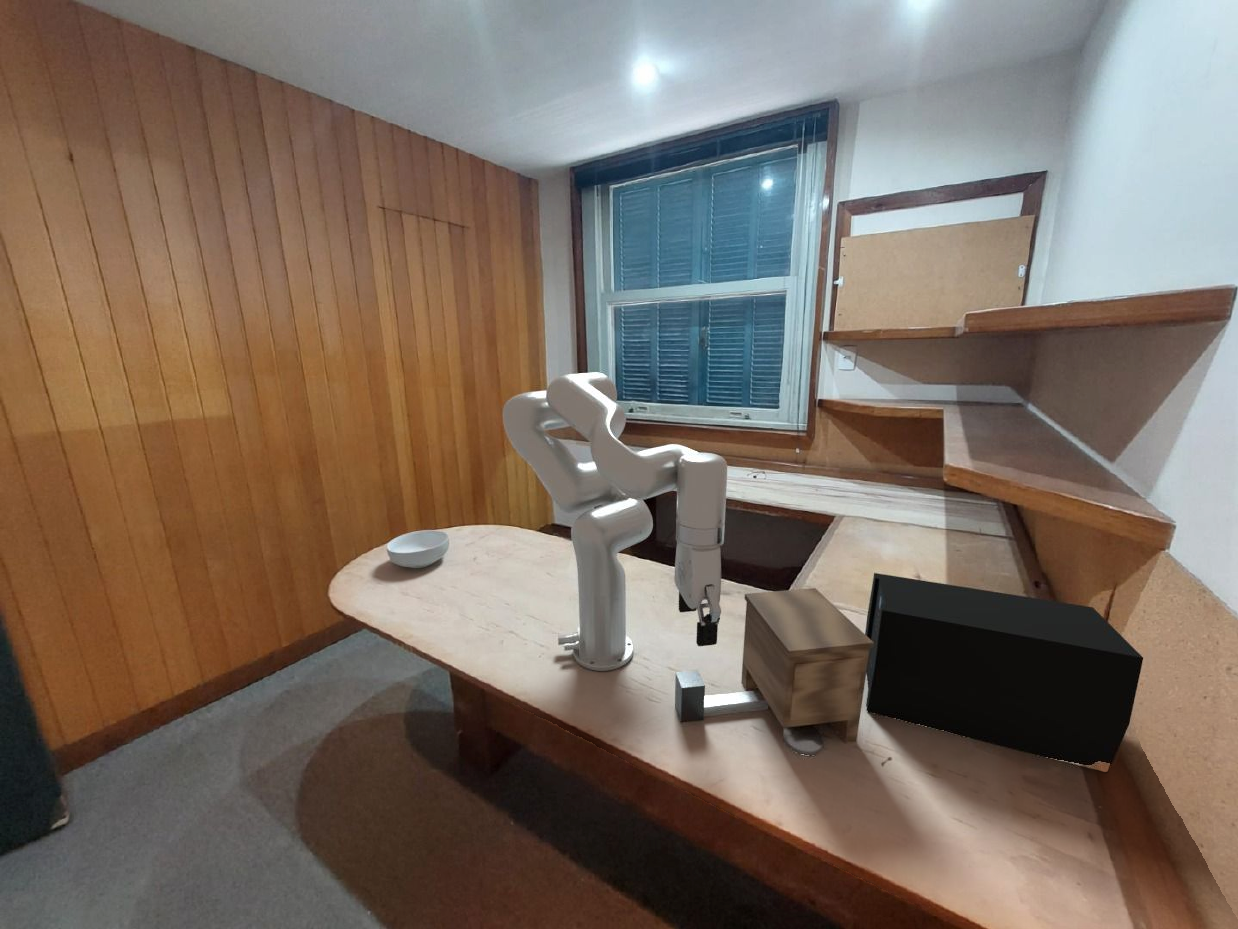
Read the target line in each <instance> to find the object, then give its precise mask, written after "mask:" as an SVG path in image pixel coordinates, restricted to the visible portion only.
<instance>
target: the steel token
mask: <svg viewBox="0 0 1238 929" xmlns="http://www.w3.org/2000/svg"><path fill="white" fill-rule="evenodd" d="M782 739H784V740H783V742H784V744H785V743H786V744H785V746H786V747H787V746H788V747H789V748H791V749H792V750H793V751H795V752H797V753H798V754H797V753H796V754H797V755H800V754H804V755H809V756H808V757H813V756H812V755H815V756H817V755H819V754H820V753H822V750H823V744H824V736H823V735H822V733H821V731H820V730H819V729H818V727H816V726H815V725H814V724H811V725H803V726H795V727H787V728H783V731H782ZM788 747H787V748H788ZM789 748H788V749H789ZM791 749H790V750H791ZM792 750H791V751H792ZM793 751H792V752H793ZM795 752H794V753H795Z"/></svg>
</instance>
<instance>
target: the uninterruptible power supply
mask: <svg viewBox="0 0 1238 929" xmlns="http://www.w3.org/2000/svg"><path fill="white" fill-rule="evenodd" d="M864 631H865V632H864V634H865V635H866V636H867V637H868V638H869V639H870V640H872V641H873V642H874V645H873V648H872V649H870V650H869V657H868V664H867V671H866V681H868V682H867V696H866V703H865V707H867V708H866V712H867V711H868V712H867V713H870V712H871V713H870V714H873V713H875V714H874V715H877V714H878V716H881V715H882V717H885V716H887V718H889V717H890V718H889V719H893V718H896V719H895V720H897V719H900V720H899V721H901V720H903V721H902V722H905V721H907V722H906V723H909V722H911V723H910V724H912V723H914V724H913V725H916V724H920V725H924V726H927V727H926V728H928V727H931V728H930V729H932V728H934V729H933V730H936V729H938V730H937V731H940V730H944V731H947V732H950V733H949V734H951V733H953V734H952V735H955V734H957V735H956V736H959V735H960V737H963V736H965V737H964V738H967V737H969V738H968V739H971V740H975V741H979V742H983V743H986V744H992V745H994V746H998V747H1003V748H1006V749H1009V750H1010V749H1011V750H1014V751H1019V752H1022V753H1025V754H1030V755H1033V754H1034V755H1033V756H1037V755H1039V756H1038V757H1041V756H1042V757H1041V758H1045V757H1048V758H1047V759H1049V758H1053V759H1057V760H1064V761H1068V762H1074V763H1079V764H1083V765H1092V764H1094V763H1095V762H1098V761H1101V762H1106V763H1110V764H1111V765H1112V764H1113V762H1114V759H1115V758H1116V755H1117V754H1118V753H1117V752H1118V751H1119V748H1120V746H1121V744H1122V741H1123V739H1124V737H1125V734H1126V732H1127V730H1128V728H1129V725H1130V723H1131V718H1132V714H1133V709H1134V704H1135V698H1136V695H1137V690H1138V689H1137V688H1138V684H1139V680H1140V675H1141V670H1142V666H1143V663H1144V662H1143V661H1144V657H1143V656H1142V655H1141V654H1140V653H1139V652H1138V651H1137V650H1136V649H1135V648H1134V647H1133V646H1132V644H1130V643H1129V642H1128V641H1127V640H1126V639H1125V637H1123V636H1122V635H1121V634H1120V633H1119V632H1118V631H1117V630H1116V629H1115V628H1114V627H1113V625H1111V624H1110V623H1109V621H1107V620H1106V619H1105V618H1104V617H1103V616H1102V615H1101V614H1100V613H1099V612H1098V611H1097V610H1096V608H1094V607H1093V606H1087V605H1081V604H1076V603H1075V604H1074V603H1067V602H1062V601H1056V600H1049V599H1041V598H1037V597H1030V596H1023V595H1016V594H1011V593H1005V592H1004V593H1003V592H998V591H991V590H986V589H978V588H973V587H965V586H961V585H953V584H946V583H941V582H935V581H927V580H922V579H915V578H908V577H903V576H902V577H901V576H896V575H889V574H884V573H883V574H882V573H877V572H873V578H872V584H871V591H870V597H869V604H868V610H867V615H866V625H865V630H864ZM920 725H919V726H920ZM924 726H923V727H924ZM944 731H943V732H944ZM947 732H946V733H947ZM1053 759H1052V760H1053ZM1057 760H1056V761H1057Z"/></svg>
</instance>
